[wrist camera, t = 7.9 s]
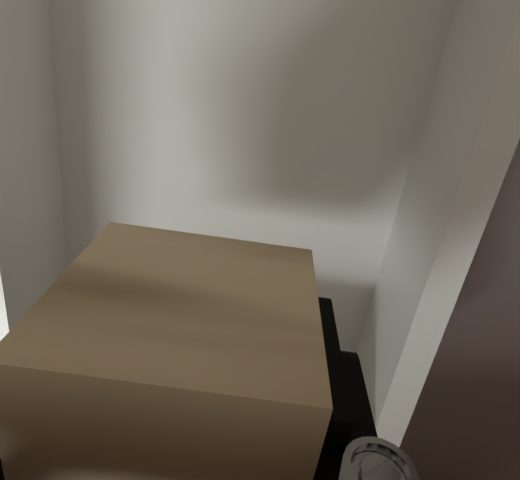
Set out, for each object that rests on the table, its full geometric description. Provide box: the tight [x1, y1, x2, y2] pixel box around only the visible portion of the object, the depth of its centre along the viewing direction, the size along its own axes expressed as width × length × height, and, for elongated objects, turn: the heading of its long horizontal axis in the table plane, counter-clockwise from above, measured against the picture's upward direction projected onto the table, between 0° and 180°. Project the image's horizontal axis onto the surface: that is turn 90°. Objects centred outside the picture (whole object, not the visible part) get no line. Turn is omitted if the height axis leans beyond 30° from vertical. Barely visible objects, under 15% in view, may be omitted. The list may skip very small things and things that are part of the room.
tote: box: [0, 0, 520, 447], centre depth 13 cm, size 18×14×5 cm
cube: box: [0, 222, 333, 480], centre depth 9 cm, size 5×5×5 cm
